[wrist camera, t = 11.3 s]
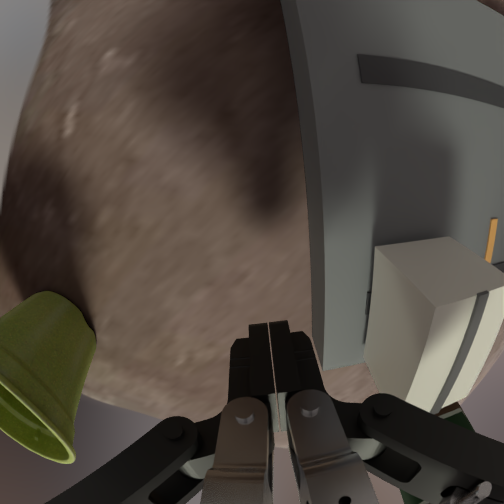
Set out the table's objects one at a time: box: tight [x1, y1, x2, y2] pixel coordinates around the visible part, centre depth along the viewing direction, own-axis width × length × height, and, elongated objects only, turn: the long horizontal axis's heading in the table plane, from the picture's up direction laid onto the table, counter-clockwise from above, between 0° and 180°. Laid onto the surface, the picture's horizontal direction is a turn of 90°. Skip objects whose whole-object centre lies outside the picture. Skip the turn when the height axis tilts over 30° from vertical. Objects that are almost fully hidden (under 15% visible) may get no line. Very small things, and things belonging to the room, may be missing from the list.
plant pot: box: [0, 291, 96, 464], centre depth 12 cm, size 9×9×9 cm
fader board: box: [280, 0, 504, 371], centre depth 11 cm, size 20×20×3 cm
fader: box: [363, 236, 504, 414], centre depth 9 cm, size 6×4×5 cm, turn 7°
